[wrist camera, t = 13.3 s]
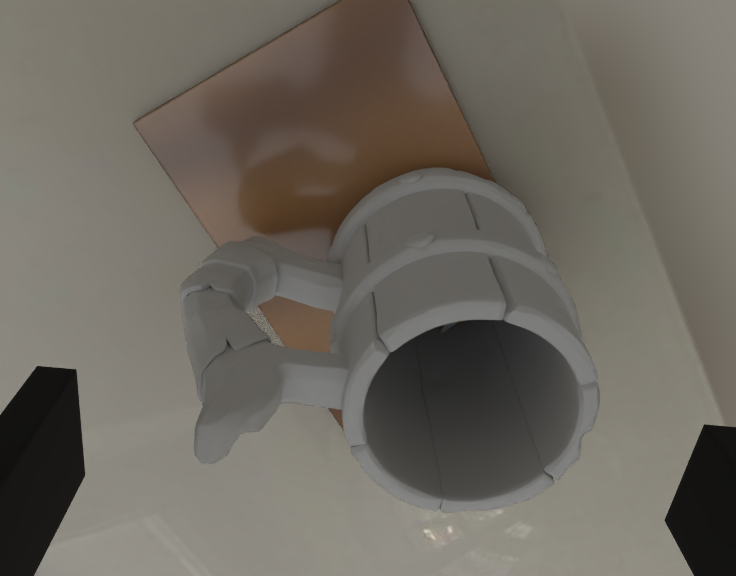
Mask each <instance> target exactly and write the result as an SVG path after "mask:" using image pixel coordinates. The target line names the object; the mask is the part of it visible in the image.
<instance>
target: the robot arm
mask: <svg viewBox="0 0 736 576" xmlns="http://www.w3.org/2000/svg"><path fill="white" fill-rule="evenodd" d="M84 476H85V467H84V455H83V444H82V432H81V420H80V408H79V396H78V384H77V372H76V369H65V368H53V367H42V366H37V367H36V368H35V370H34V371H33V372H32V374H31V375H30V376H29V378H28V379H27V380H26V382H25V383H24V384H23V386H22V387H21V388H20V390H19V391H18V392H17V394H16V395H15V396H14V398H13V399H12V400H11V402H10V403H9V404H8V406H7V407H6V408H5V409H4V411H3V412H2V413H1V415H0V576H34V574H35V572H36V570H37V569H38V567H39V565H40V563H41V561H42V559H43V557H44V555H45V553H46V551H47V549H48V547H49V545H50V543H51V541H52V539H53V537H54V535H55V533H56V531H57V529H58V527H59V525H60V523H61V522H62V520H63V518H64V516H65V514H66V512H67V510H68V508H69V506H70V504H71V502H72V500H73V498H74V496H75V494H76V492H77V490H78V488H79V486H80V484H81V482H82V480H83V478H84ZM665 522H666V524H667V526H668V528H669V530H670V532H671V533H672V535H673V537H674V539H675V541H676V543H677V545H678V546H679V548H680V550H681V552H682V554H683V556H684V558H685V560H686V561H687V563H688V565H689V567H690V569H691V571H692V573H693V574H694V576H736V427H726V426H714V425H704V426H703V428H702V431H701V433H700V436H699V438H698V440H697V443H696V445H695V448H694V450H693V453H692V455H691V457H690V460H689V462H688V465H687V467H686V470H685V472H684V474H683V477H682V479H681V482H680V484H679V487H678V489H677V491H676V494H675V496H674V499H673V501H672V504H671V506H670V508H669V511H668V513H667V516H666V518H665Z"/></svg>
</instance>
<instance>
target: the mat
mask: <svg viewBox="0 0 736 576" xmlns="http://www.w3.org/2000/svg"><path fill="white" fill-rule="evenodd" d="M133 125H134V126H135V128H136V129H137V131H138V132H139V134H140V135H141V137H142V138H143V139H144V141H145V142H146V144H147V145H148V147H149V148H150V150H151V151H152V153H153V154H154V155H155V157H156V158H157V160H158V161H159V163H160V164H161V166H162V167H163V169H164V170H165V171H166V173H167V174H168V176H169V177H170V179H171V180H172V182H173V183H174V185H175V186H176V187H177V189H178V190H179V192H180V193H181V195H182V196H183V198H184V199H185V201H186V202H187V203H188V205H189V206H190V208H191V209H192V211H193V212H194V214H195V215H196V217H197V218H198V219H199V221H200V222H201V224H202V225H203V227H204V228H205V230H206V231H207V233H208V234H209V235H210V237H211V238H212V240H213V241H214V243H215V244H216V246H217V247H218V249H219V248H220V247H221V246H222V245H223V244H225V243H226V242H228V241H237V242H241V241H243V240H246V239H248V238H251V237H253V236H258V237H263V238H265V239H268V240H271V241H273V242H275V243H276V244H278V245H279V246H281V247H283V248H285V249H287V250H289V251H292V252H294V253H297V254H300V255H303V256H306V257H310V258H313V259H317V260H321V261H326V262H327V255H328V251H329V248H330V247H331V246H332V243H333V240H334V238H335V235H336V233H337V231H338V229H339V227H340V225H341V224H342V222H343V221H344V219H345V218H346V216H347V215H348V214H349V212H350V211H351V210H352V209H353V208H354V207H355V206H356V205H357V204H358V203H359V202H360V201H361V200H362V199H363V198H364V197H365V196H366V195H368V194H369V193H370V192H371V191H372V190H373V189H375V188H376V187H378V186H379V185H381V184H384V183H385V182H387V181H389V180H391V179H393V178H395V177H398V176H400V175H403V174H405V173H408V172H411V171H414V170H419V169H425V168H433V167H441V168H450V169H452V170H455V171H459V170H460V171H464V172H467V173H471V174H473V175H476V176H478V177H480V178H483V179H486V180H490V181H493V182H494V183H495V181H494V179H493V177H492V175H491V172H490V170H489V168H488V166H487V164H486V162H485V160H484V158H483V156H482V153H481V151H480V149H479V147H478V145H477V143H476V141H475V139H474V137H473V134H472V132H471V130H470V128H469V126H468V124H467V122H466V120H465V118H464V116H463V113H462V111H461V109H460V107H459V105H458V103H457V101H456V99H455V97H454V94H453V92H452V90H451V88H450V86H449V84H448V82H447V80H446V78H445V75H444V73H443V71H442V69H441V67H440V65H439V63H438V61H437V59H436V57H435V54H434V52H433V50H432V48H431V46H430V44H429V42H428V40H427V38H426V35H425V33H424V31H423V29H422V27H421V25H420V23H419V21H418V19H417V17H416V14H415V12H414V10H413V8H412V6H411V4H410V2H409V0H340V1H338V2H336V3H334V4H333V5H331V6H329V7H328V8H326V9H324V10H323V11H321V12H319V13H318V14H316V15H314V16H312V17H311V18H309V19H307V20H306V21H304V22H302V23H301V24H299V25H297V26H295V27H294V28H292V29H290V30H289V31H287V32H285V33H284V34H282V35H280V36H279V37H277V38H275V39H273V40H272V41H270V42H268V43H267V44H265V45H263V46H262V47H260V48H258V49H256V50H255V51H253V52H251V53H250V54H248V55H246V56H245V57H243V58H241V59H240V60H238V61H236V62H234V63H233V64H231V65H229V66H228V67H226V68H224V69H223V70H221V71H219V72H217V73H216V74H214V75H212V76H211V77H209V78H207V79H206V80H204V81H202V82H201V83H199V84H197V85H195V86H194V87H192V88H190V89H189V90H187V91H185V92H184V93H182V94H180V95H178V96H177V97H175V98H173V99H172V100H170V101H168V102H167V103H165V104H163V105H162V106H160V107H158V108H156V109H155V110H153V111H151V112H150V113H148V114H146V115H145V116H143V117H141V118H139V119H138V120H136V121H135V122H133ZM258 307H259V308H260V310H261V311H262V313H263V314H264V316H265V317H266V318H267V320H268V321H269V323H270V324H271V326H272V327H273V329H274V330H275V332H276V333H277V334H278V336H279V337H280V339H281V340H282V342H283V343H284V345H285V346H286V347H288V348H294V349H301V350H307V351H317V352H328V353H331V351H330V340H329V330H330V324H331V319H332V316H333V315H334V313H333V311H329V310H325V309H319V308H315V307H312V306H309V305H306V304H303V303H300V302H297V301H294V300H291V299H288V298H284V297H281V296H276V295H275V296H274V297H273V298H272V299H270V300H269V301H266V302H263V303H261V304H260V305H258ZM465 321H467V320H464V321H459V322H457V323H456V324H455V325H457V324H460V323H462V322H465ZM453 326H454V325H453ZM443 327H444V325H442V326H438V327H436V328H433V329H442V328H443ZM328 409H329V410H330V412H331V413H332V414H333V416H334V417H335V419H336V420H337V422H338V423H339V425H340V426H341V428H342V429H343V421H342V410H340V409H334V408H328ZM343 430H344V429H343Z"/></svg>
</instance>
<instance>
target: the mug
mask: <svg viewBox="0 0 736 576" xmlns="http://www.w3.org/2000/svg"><path fill="white" fill-rule="evenodd" d="M275 295H276V296H281V297H284V298H288V299H291V300H294V301H297V302H300V303H303V304H306V305H309V306H312V307H315V308H319V309H325V310H329V311H333V313H334V315H333V316H332V319H331V324H330V330H329V340H330V351H331V353H328V352H317V351H307V350H301V349H294V348H288V347H283V346H279V345H275V344H272V343H271V340H270V337H269V336H268V335H267V334H266V333H264V332H263V331H262V330H261V329H260V328H259V327H258V325H257V324H256V323H255V322H254V320H253V319H252V318H251V317H250V316H249V315H248V314H247V313H246V312H249V311H251V310H252V309H254V308H255V307H257V306H258V305H260V304H261V303H263V302H266V301H269V300H270V299H272V298H273V297H274V296H275ZM180 298H181V308H182V316H183V322H184V330H185V337H186V342H187V352H188V355H189V358H190V361H191V364H192V367H193V371H194V375H195V379H196V384H197V390H198V399H199V400H200V401H202V404H203V408H202V410H201V413H200V415H199V418H198V420H197V423H196V427H195V438H194V452H195V456H196V458H197V459H198V460H199V461H200V462H201V463H203V464H213V463H215V462H217V461H219V460H220V459H222V458H224V457H225V456H227V454H228V453H229V451H230V449H231V447H232V445H233V444H234V442H235V441H236V440H237V438H238V437H239V436H240V435H241V434H243V433H245V432H259V431H260V430H261V429H262V428H263V427H264V426H265V424H266V423H267V421H268V420H269V419H270V418H271V416H272V415H273V414H274V413H275V411H276V410H277V408H278V406H279V404H281V403H298V404H304V405H309V406H320V407H326V408H334V409H340V410H342V421H343V429H344V433H345V436H346V438H347V440H348V442H349V444H350V446H351V453H352V455H353V456H354V457H355V458H356V459H357V460H358V461H359V462H360V464H361V467H362V469H363V470H364V472H365V473H366V474H367V475H369V476H370V477H371V478H372V479H373V480H374V481H375V482H376V483H377V484H378V485H379V486H380V487H381V488H382V489H383V490H385V491H386V492H387V493H389V494H390V495H392V496H394V497H396V498H398V499H400V500H402V501H404V502H406V503H409V504H411V505H414V506H416V507H419V508H423V509H429V510H433V511H437V510H438V509H439V507H440V510H441V511H442V512H443V513H451V512H458V511H466V510H490V509H498V508H501V507H504V506H508V505H511V504H514V503H517V502H520V501H524V500H528V499H530V498H532V497H534V496H536V495H537V494H539V493H541V492H543V491H545V490H546V489H548V488H549V487H550V486H552V485H553V484H554V480H553V477H555V478H556V479H558V480H559V479H560V478H561V477H562V476H563V474H564V473H565V472H566V470H567V469H568V468H569V467H570V466H571V465H572V464H573V463H574V462H576V461H577V460H578V459H579V457H580V451H581V449H580V448H581V439H582V437H583V436H584V434H585V433H586V432H589V431H591V430H592V428H593V426H594V423H595V420H596V417H597V413H598V410H599V403H600V391H599V386H598V383H597V379H598V376H597V372H596V369H595V366H594V363H593V361H592V359H591V357H590V355H589V353H588V351H587V349H586V347H585V345H584V343H583V341H582V339H581V330H580V325H579V320H578V316H577V311H576V307H575V304H574V302H573V300H572V298H571V296H570V294H569V292H568V290H567V289H566V287H565V285H564V284H563V282H562V280H561V279H560V277H559V276H558V275H557V269H556V267H555V266H554V264H553V263H552V262H551V260H550V259H549V258H547V256H546V251H545V247H544V244H543V240H542V238H541V235H540V233H539V230H538V228H537V226H536V225H535V223H534V221H533V219H532V218H531V216H530V215H529V213H528V212H527V210H526V208H525V206H524V204H523V203H522V202H521V201H520V200H519V199H517V198H516V197H515V196H514V195H512V194H510V193H509V192H508V191H507V190H505V189H504V188H503V187H501V186H500V185H498V184H496V183H494V182H493V181H490V180H486V179H483V178H480V177H478V176H476V175H473V174H471V173H467V172H464V171H460V170H459V171H455V170H452V169H450V168H441V167H433V168H425V169H419V170H414V171H411V172H408V173H405V174H403V175H400V176H398V177H395V178H393V179H391V180H389V181H387V182H385V183H384V184H381V185H379V186H378V187H376V188H375V189H373V190H372V191H371V192H370V193H369V194H368V195H366V196H365V197H364V198H363V199H362V200H361V201H360V202H359V203H358V204H357V205H356V206H355V207H354V208H353V209H352V210H351V211H350V212H349V214H348V215H347V216H346V218H345V219H344V221H343V222H342V224H341V225H340V227H339V229H338V231H337V233H336V235H335V238H334V240H333V243H332V246H331V247H330V248H329V251H328V255H327V262H326V261H321V260H317V259H313V258H310V257H306V256H303V255H300V254H297V253H294V252H292V251H289V250H287V249H285V248H283V247H281V246H279V245H278V244H276V243H275V242H273V241H271V240H268V239H265V238H263V237H258V236H253V237H251V238H248V239H246V240H243V241H241V242H237V241H228V242H226V243H225V244H223V245H222V246H221V247H220V248H219V249H217V250H216V251H215V252H214V253H213V254H211V255H210V256H209V257H207V258H206V259H205V260H204V261H202V262H201V263H200V264H199V266H198V270H197V271H195V272H194V273H193V274H192V275H190V276H189V277H188V278H187V279H186V280H185V281H184V282H183V283H182V285H181V287H180ZM464 320H467V321H465V322H462V323H460V324H457V325H455V324H456V323H457V322H459V321H464ZM442 325H444V327H443V328H442V329H433V328H436V327H438V326H442ZM453 325H454V326H453Z"/></svg>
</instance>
